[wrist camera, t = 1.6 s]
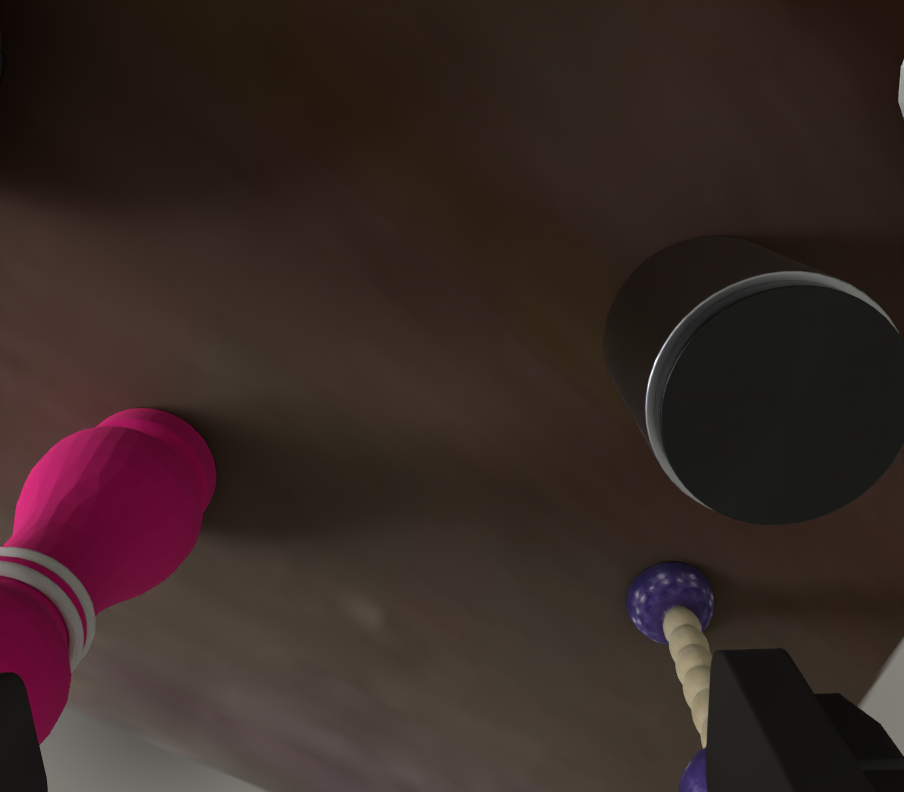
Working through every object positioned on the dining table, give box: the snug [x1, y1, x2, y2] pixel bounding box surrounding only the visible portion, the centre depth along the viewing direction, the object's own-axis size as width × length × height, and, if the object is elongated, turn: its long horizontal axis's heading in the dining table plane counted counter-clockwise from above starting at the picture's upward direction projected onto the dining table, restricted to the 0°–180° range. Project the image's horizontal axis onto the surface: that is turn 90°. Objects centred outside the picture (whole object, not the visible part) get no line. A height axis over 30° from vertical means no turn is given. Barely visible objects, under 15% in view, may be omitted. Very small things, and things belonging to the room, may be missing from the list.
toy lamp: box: [626, 562, 715, 792], centre depth 34 cm, size 5×5×17 cm
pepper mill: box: [0, 408, 216, 745], centre depth 30 cm, size 7×7×20 cm
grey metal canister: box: [604, 236, 904, 525], centre depth 33 cm, size 9×9×10 cm
